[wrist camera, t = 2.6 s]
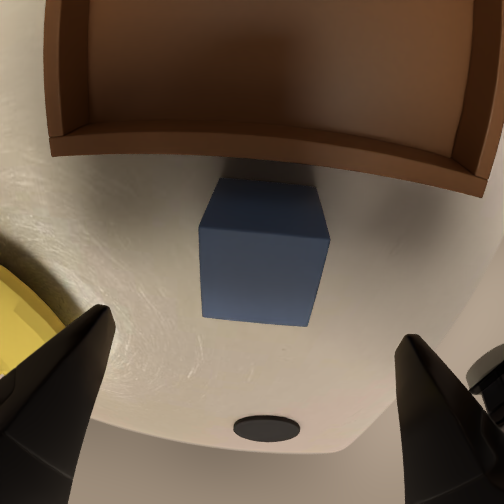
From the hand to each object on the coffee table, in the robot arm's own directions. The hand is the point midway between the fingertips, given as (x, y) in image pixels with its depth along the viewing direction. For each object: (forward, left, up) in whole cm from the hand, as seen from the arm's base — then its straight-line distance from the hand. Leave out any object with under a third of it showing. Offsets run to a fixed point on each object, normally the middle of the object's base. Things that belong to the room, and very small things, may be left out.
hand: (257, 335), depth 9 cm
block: (0, 0, -6) cm, 6 cm away
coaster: (-9, +20, -6) cm, 23 cm away
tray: (+8, -25, -6) cm, 27 cm away
